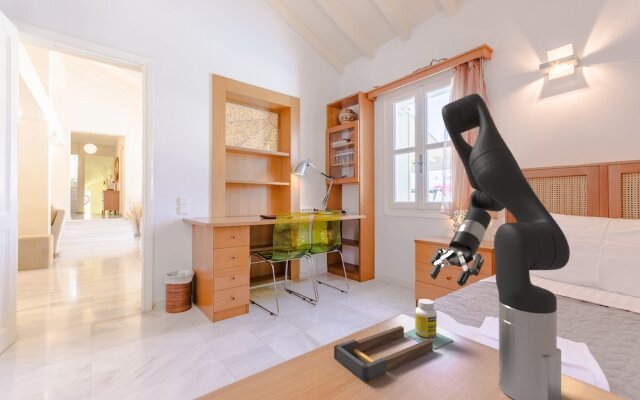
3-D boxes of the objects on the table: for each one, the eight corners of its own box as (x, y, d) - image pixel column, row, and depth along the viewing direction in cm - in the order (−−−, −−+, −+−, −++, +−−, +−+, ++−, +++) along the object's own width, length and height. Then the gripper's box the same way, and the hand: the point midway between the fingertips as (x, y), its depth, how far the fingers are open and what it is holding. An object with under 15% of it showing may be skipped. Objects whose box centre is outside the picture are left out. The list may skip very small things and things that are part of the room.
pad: (453, 341, 78) (453, 339, 78) (434, 349, 74) (434, 348, 74) (422, 327, 86) (422, 326, 86) (403, 334, 82) (403, 333, 82)
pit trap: (385, 373, 64) (385, 359, 64) (364, 382, 60) (364, 368, 60) (353, 351, 73) (353, 339, 73) (334, 358, 70) (334, 345, 70)
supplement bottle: (430, 344, 76) (429, 306, 76) (411, 336, 80) (411, 300, 80) (440, 337, 79) (440, 301, 79) (422, 330, 83) (421, 296, 83)
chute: (432, 351, 73) (432, 341, 73) (386, 371, 64) (386, 360, 64) (400, 334, 82) (400, 325, 82) (356, 351, 73) (356, 341, 73)
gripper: (441, 228, 95) (418, 268, 89) (486, 232, 83) (463, 278, 77) (451, 243, 98) (430, 282, 92) (496, 249, 86) (475, 295, 80)
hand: (445, 280), depth 84 cm, fingers open, 8 cm apart
